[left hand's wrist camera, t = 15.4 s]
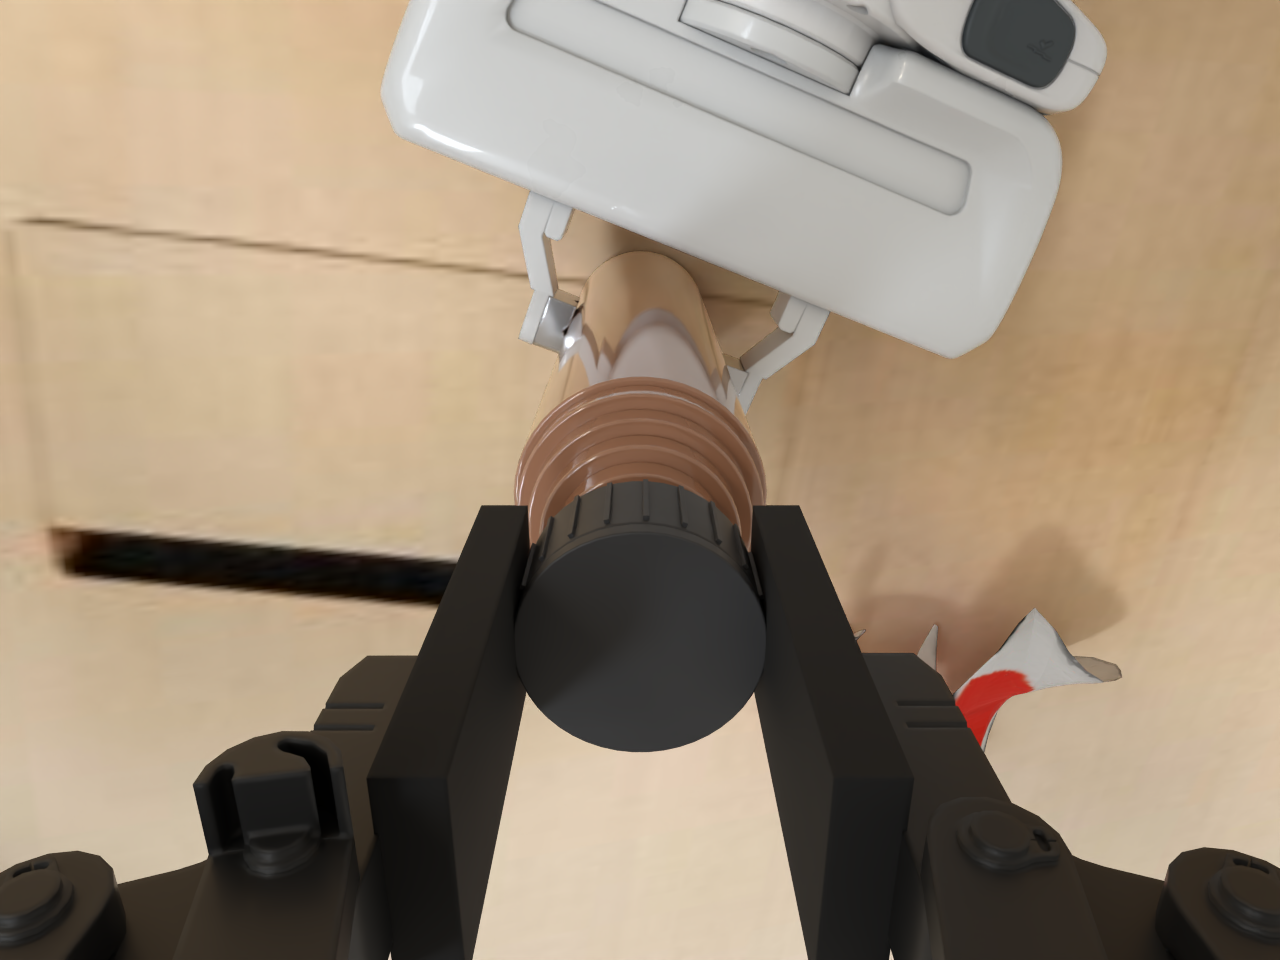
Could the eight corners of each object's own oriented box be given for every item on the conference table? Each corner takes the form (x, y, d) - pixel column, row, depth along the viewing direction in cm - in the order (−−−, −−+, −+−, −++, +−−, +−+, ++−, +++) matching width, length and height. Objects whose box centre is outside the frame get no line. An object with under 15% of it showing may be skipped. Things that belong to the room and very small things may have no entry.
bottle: (559, 275, 36) (411, 535, 13) (681, 232, 35) (757, 424, 12) (602, 393, 37) (542, 807, 14) (719, 353, 37) (849, 722, 14)
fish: (801, 531, 34) (942, 762, 28) (1070, 518, 42) (1232, 700, 35) (703, 689, 41) (800, 904, 35) (950, 655, 48) (1068, 828, 42)
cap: (477, 593, 15) (454, 659, 13) (628, 428, 14) (626, 474, 12) (650, 718, 16) (651, 797, 14) (803, 573, 15) (827, 637, 13)
